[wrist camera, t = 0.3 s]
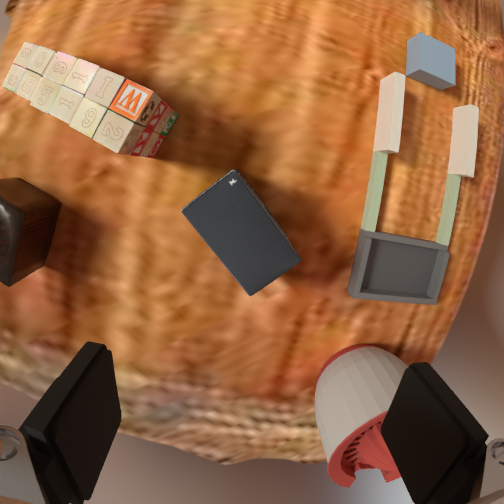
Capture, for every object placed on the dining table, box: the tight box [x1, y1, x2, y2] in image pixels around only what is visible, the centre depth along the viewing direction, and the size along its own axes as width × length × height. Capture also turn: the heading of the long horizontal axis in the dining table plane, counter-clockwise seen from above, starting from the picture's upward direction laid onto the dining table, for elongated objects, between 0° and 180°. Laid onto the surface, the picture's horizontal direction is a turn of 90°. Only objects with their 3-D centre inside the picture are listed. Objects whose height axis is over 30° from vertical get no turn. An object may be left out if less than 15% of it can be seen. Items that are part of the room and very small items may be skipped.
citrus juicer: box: [315, 344, 409, 487], centre depth 35 cm, size 16×17×20 cm
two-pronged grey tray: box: [347, 72, 479, 305], centre depth 36 cm, size 29×14×4 cm, turn 172°
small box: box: [181, 169, 301, 296], centre depth 33 cm, size 11×6×10 cm, turn 37°
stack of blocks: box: [2, 42, 178, 158], centre depth 28 cm, size 21×6×12 cm, turn 58°
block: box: [406, 32, 455, 90], centre depth 32 cm, size 6×6×4 cm
